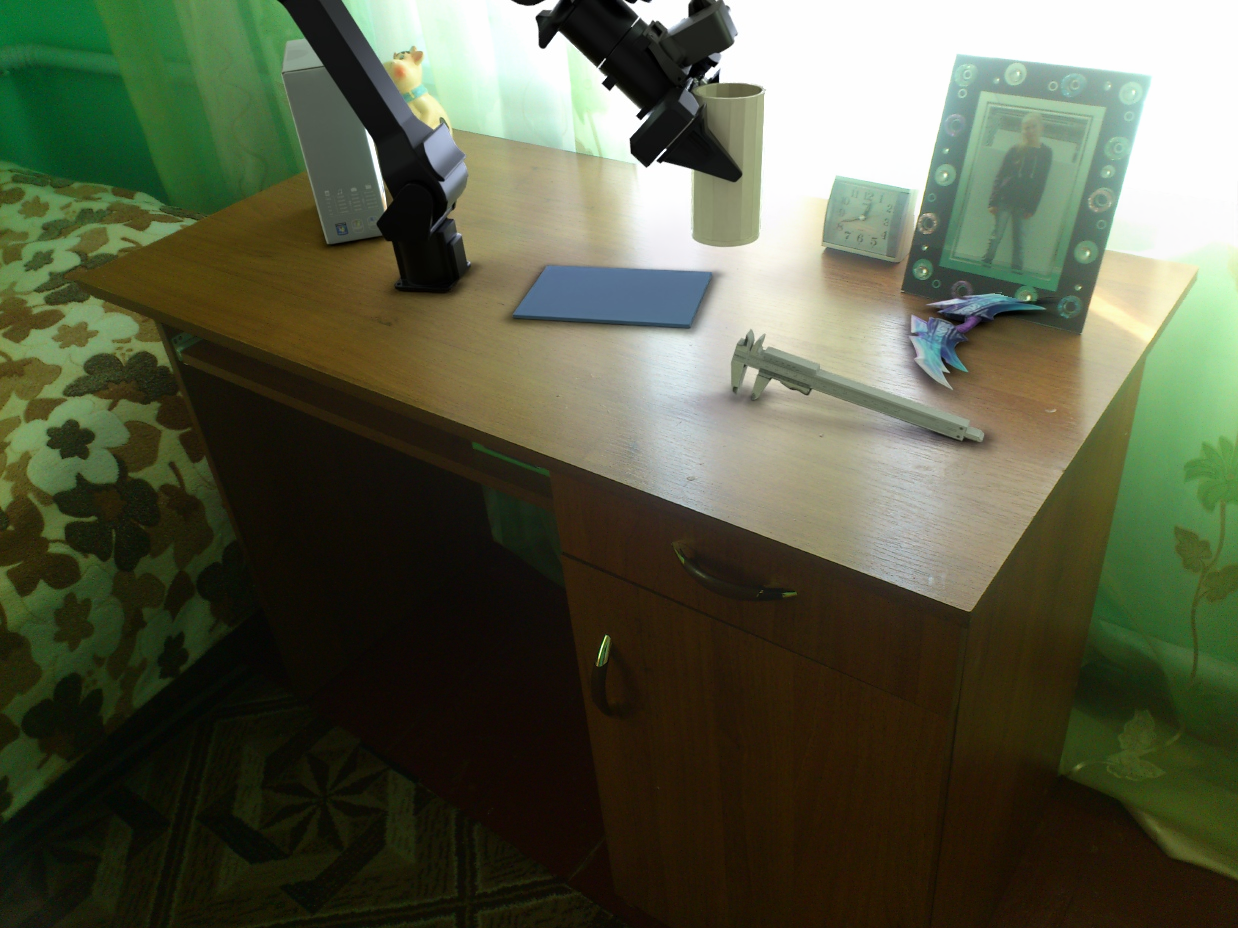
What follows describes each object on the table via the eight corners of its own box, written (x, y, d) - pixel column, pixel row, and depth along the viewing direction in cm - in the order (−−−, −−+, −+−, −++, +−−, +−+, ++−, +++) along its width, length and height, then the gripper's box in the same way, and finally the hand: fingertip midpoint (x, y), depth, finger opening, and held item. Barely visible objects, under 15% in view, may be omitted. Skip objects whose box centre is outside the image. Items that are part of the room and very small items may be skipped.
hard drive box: (392, 236, 116) (350, 62, 104) (327, 248, 115) (277, 73, 103) (386, 190, 128) (347, 29, 116) (327, 200, 127) (282, 39, 115)
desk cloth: (512, 318, 97) (512, 314, 97) (548, 268, 106) (547, 265, 105) (689, 328, 93) (689, 324, 92) (712, 275, 101) (712, 271, 101)
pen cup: (698, 249, 92) (700, 101, 85) (685, 226, 98) (686, 84, 90) (766, 244, 93) (774, 96, 85) (750, 221, 98) (756, 80, 91)
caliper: (731, 396, 83) (729, 332, 79) (735, 389, 84) (734, 325, 80) (981, 445, 74) (993, 376, 71) (984, 437, 75) (995, 368, 71)
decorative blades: (981, 266, 95) (1079, 297, 89) (980, 274, 96) (1077, 305, 89) (854, 344, 86) (953, 385, 79) (853, 352, 86) (952, 394, 80)
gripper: (659, -4, 75) (800, 138, 79) (695, -53, 89) (813, 70, 94) (571, 102, 81) (707, 228, 86) (618, 41, 96) (732, 151, 100)
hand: (743, 164), depth 91 cm, fingers closed on pen cup, 7 cm apart
